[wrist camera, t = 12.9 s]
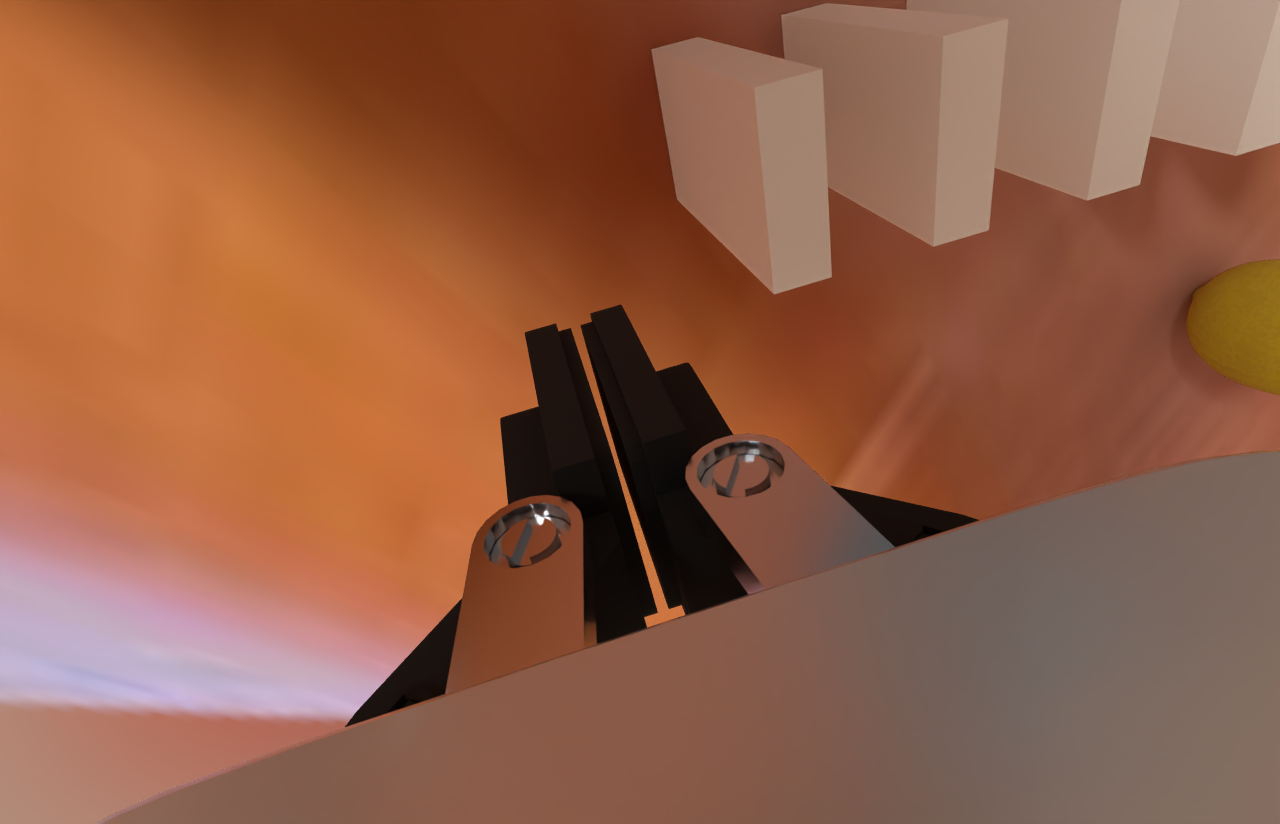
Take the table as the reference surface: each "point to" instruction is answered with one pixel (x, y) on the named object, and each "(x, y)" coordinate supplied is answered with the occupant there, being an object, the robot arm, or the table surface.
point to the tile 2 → (908, 111)
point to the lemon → (1240, 324)
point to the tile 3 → (1076, 87)
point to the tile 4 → (1222, 76)
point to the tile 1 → (750, 155)
